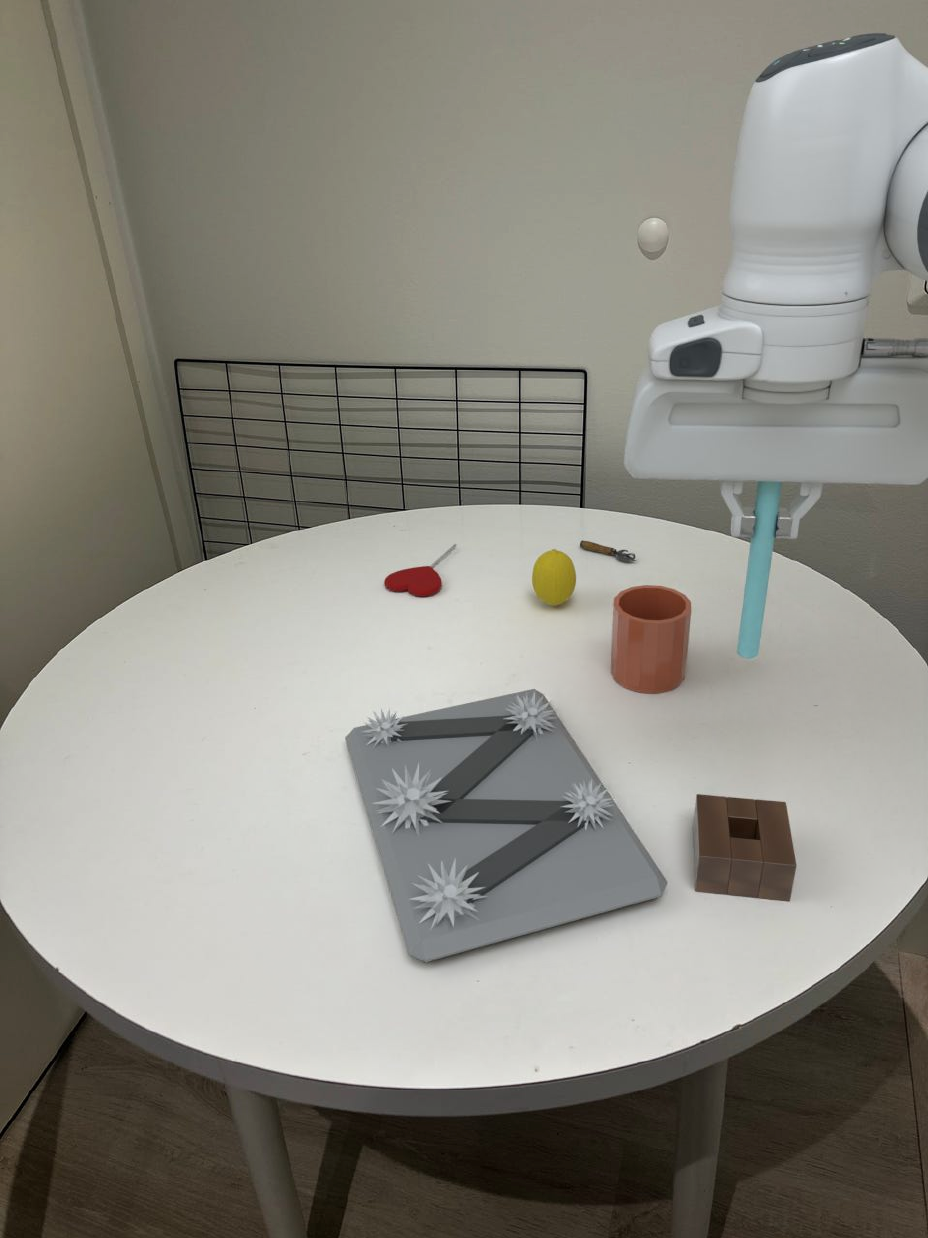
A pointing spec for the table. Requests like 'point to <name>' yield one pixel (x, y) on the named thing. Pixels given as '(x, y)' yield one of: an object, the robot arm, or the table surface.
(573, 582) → the lemon
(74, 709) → the table surface
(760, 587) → the straw
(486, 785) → the decorative plate
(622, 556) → the can opener
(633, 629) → the cup
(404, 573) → the lollipop
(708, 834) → the holder
